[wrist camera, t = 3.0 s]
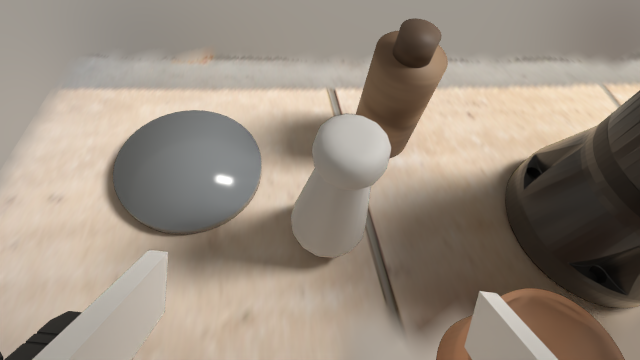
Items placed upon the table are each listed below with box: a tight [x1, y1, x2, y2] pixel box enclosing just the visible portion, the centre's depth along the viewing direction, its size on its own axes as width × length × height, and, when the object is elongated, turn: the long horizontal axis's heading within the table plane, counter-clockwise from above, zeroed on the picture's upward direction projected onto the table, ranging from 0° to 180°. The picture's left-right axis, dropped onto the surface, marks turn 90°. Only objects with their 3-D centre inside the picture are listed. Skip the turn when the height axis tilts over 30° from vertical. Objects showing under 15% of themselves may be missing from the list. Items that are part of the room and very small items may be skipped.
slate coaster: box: [113, 110, 261, 234], centre depth 31 cm, size 12×12×1 cm
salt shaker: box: [291, 114, 391, 258], centre depth 24 cm, size 6×6×13 cm
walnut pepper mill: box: [356, 19, 448, 158], centre depth 31 cm, size 6×6×12 cm
